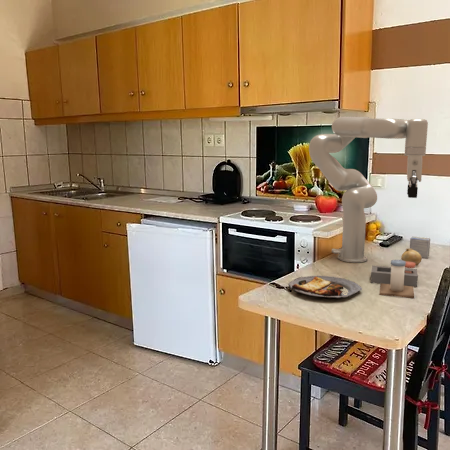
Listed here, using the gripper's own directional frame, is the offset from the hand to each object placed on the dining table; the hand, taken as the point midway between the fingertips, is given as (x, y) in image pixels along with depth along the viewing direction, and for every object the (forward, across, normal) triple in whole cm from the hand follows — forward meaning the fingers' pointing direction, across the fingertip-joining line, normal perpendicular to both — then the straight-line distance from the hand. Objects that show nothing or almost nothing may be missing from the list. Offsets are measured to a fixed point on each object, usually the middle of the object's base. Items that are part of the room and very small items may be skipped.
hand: (411, 196), depth 184 cm
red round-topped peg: (+30, -16, 0) cm, 34 cm away
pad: (+30, -29, +4) cm, 42 cm away
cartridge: (+29, -29, +4) cm, 41 cm away
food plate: (+31, -36, +28) cm, 55 cm away
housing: (+30, -16, +5) cm, 35 cm away
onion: (+31, +11, -2) cm, 33 cm away
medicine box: (+31, +27, -6) cm, 41 cm away
